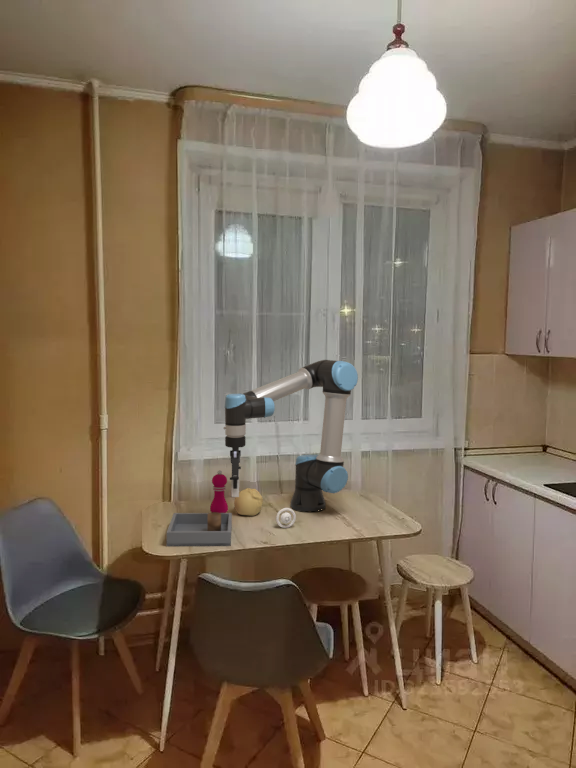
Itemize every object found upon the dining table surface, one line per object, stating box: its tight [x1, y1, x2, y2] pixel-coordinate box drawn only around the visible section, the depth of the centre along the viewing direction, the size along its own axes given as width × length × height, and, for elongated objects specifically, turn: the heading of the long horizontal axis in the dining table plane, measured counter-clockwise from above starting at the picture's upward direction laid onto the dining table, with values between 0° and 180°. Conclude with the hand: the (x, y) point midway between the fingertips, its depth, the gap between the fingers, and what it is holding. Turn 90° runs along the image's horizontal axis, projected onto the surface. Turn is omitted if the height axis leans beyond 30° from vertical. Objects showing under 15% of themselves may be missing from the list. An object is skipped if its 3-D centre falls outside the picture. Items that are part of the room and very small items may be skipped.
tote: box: [166, 512, 233, 547], centre depth 219 cm, size 22×22×5 cm
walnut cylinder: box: [207, 512, 221, 531], centre depth 219 cm, size 5×5×7 cm
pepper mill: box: [209, 470, 229, 513], centre depth 238 cm, size 7×7×20 cm
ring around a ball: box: [275, 507, 297, 529], centre depth 231 cm, size 8×6×8 cm
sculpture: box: [233, 487, 264, 517], centre depth 246 cm, size 12×12×11 cm
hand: (235, 491), depth 222 cm, fingers open, 13 cm apart
